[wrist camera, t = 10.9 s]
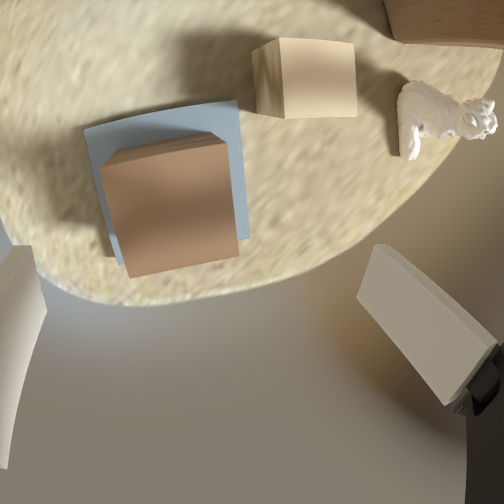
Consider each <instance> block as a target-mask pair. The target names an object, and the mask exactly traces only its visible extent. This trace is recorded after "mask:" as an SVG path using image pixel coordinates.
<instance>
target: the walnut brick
mask: <svg viewBox="0 0 504 504" xmlns="http://www.w3.org/2000/svg"><path fill="white" fill-rule="evenodd" d="M99 170H100V175H101V179H102V183H103V188H104V192H105V196H106V200H107V204H108V208H109V212H110V215H111V219H112V223H113V226H114V230H115V233H116V237H117V240H118V244H119V247H120V250H121V253H122V257H123V260H124V263H125V266H126V269H127V272H128V275H129V278H135V277H140V276H145V275H149V274H154V273H159V272H164V271H169V270H174V269H178V268H183V267H188V266H193V265H198V264H203V263H207V262H212V261H217V260H222V259H227V258H231V257H236V256H239V249H238V240H237V231H236V222H235V213H234V204H233V195H232V186H231V176H230V167H229V157H228V147H227V143H226V142H225V141H223V140H222V139H220V138H219V137H217V136H216V135H215V134H213V133H212V132H208V133H202V134H195V135H189V136H183V137H178V138H172V139H167V140H162V141H157V142H152V143H147V144H142V145H138V146H133V147H129V148H125V149H120V150H116V151H115V152H114V153H113V154H112V155H111V156H110V158H109V159H108V160H107V161H106V162H105V163H104V164H103V165H102V166H101V167H100V168H99Z"/></svg>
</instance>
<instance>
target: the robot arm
mask: <svg viewBox="0 0 504 504" xmlns="http://www.w3.org/2000/svg"><path fill="white" fill-rule="evenodd" d="M356 298H357V299H358V301H359V302H360V303H361V304H362V305H363V306H364V307H365V309H366V310H367V311H368V312H369V313H370V314H371V316H372V317H373V318H374V319H375V320H376V322H377V323H378V324H379V325H380V326H381V327H382V329H383V330H384V331H385V332H386V333H387V334H388V336H389V337H390V338H391V339H392V341H393V342H394V343H395V344H396V345H397V346H398V348H399V349H400V350H401V352H402V353H403V354H404V355H405V356H406V358H407V359H408V360H409V361H410V363H411V364H412V365H413V366H414V368H415V369H416V370H417V371H418V372H419V374H420V375H421V376H422V378H423V379H424V380H425V381H426V383H427V384H428V385H429V387H430V388H431V389H432V390H433V392H434V393H435V394H436V395H437V397H438V398H439V399H440V401H441V402H442V403H443V405H446V404H448V403H449V402H451V401H453V400H455V399H456V398H457V397H458V396H459V395H460V393H461V392H462V391H463V390H464V388H465V387H467V389H468V390H469V391H468V392H467V393H466V394H465V395H464V397H463V398H462V399H461V400H460V401H459V403H458V404H457V405H456V407H454V411H453V413H456V412H457V411H458V410H459V409H460V408H461V406H464V407H463V408H462V409H461V410H460V411H459V414H461V415H465V416H466V436H467V476H466V493H465V504H504V343H503V344H502V345H501V346H499V345H498V344H497V340H496V339H495V338H494V337H493V336H492V335H491V334H490V333H489V332H488V331H486V329H485V328H484V327H482V326H481V325H480V324H479V323H478V322H477V321H476V320H475V319H474V318H473V317H472V316H471V315H470V314H469V313H468V312H466V310H464V309H463V308H462V307H461V306H460V305H459V304H458V303H457V302H456V301H454V300H453V299H452V298H451V297H450V296H449V295H448V294H446V292H444V291H443V290H442V289H441V288H440V287H439V286H438V285H436V284H435V283H434V282H433V281H432V280H431V279H429V278H428V277H427V276H426V275H425V274H424V273H422V272H421V271H420V270H419V269H418V268H416V267H415V266H414V265H413V264H412V263H410V262H409V261H408V260H407V259H405V258H404V257H403V256H402V255H400V254H399V253H398V252H397V251H395V250H394V249H393V248H392V247H390V246H389V245H388V244H375V245H374V248H373V251H372V254H371V257H370V260H369V263H368V266H367V269H366V272H365V275H364V278H363V281H362V283H361V286H360V289H359V292H358V295H357V297H356ZM46 312H47V308H46V304H45V301H44V297H43V294H42V290H41V286H40V283H39V278H38V274H37V270H36V266H35V261H34V257H33V252H32V247H31V245H24V246H13V248H12V249H11V250H10V251H9V253H8V254H7V255H6V257H5V258H4V259H3V261H2V262H1V263H0V468H3V469H7V466H8V458H9V450H10V444H11V437H12V431H13V426H14V421H15V416H16V411H17V407H18V402H19V398H20V394H21V390H22V386H23V382H24V379H25V375H26V371H27V368H28V365H29V361H30V358H31V355H32V352H33V349H34V346H35V343H36V340H37V337H38V334H39V331H40V328H41V326H42V323H43V320H44V318H45V315H46Z"/></svg>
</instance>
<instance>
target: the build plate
mask: <svg viewBox="0 0 504 504" xmlns="http://www.w3.org/2000/svg"><path fill="white" fill-rule="evenodd" d="M208 132H212V133H213V134H215V135H216V136H217V137H219V138H220V139H222V140H223V141H225V142H226V143H227V147H228V157H229V167H230V176H231V186H232V195H233V204H234V213H235V222H236V231H237V240H243V239H248V238H250V230H249V219H248V208H247V197H246V187H245V176H244V165H243V154H242V144H241V133H240V122H239V111H238V101H237V100H228V101H220V102H212V103H204V104H197V105H190V106H184V107H178V108H172V109H167V110H161V111H156V112H151V113H146V114H142V115H137V116H133V117H128V118H124V119H120V120H116V121H112V122H108V123H105V124H101V125H97V126H94V127H90V128H87V129H84V136H85V141H86V146H87V151H88V156H89V161H90V166H91V170H92V174H93V179H94V183H95V187H96V191H97V195H98V199H99V203H100V207H101V210H102V214H103V217H104V221H105V224H106V228H107V231H108V235H109V238H110V241H111V244H112V247H113V251H114V254H115V257H116V260H117V263H118V265H123V264H125V263H124V260H123V257H122V253H121V250H120V247H119V244H118V240H117V237H116V233H115V230H114V226H113V223H112V219H111V215H110V212H109V208H108V204H107V200H106V196H105V192H104V188H103V183H102V179H101V175H100V170H99V168H100V167H101V166H102V165H103V164H104V163H105V162H106V161H107V160H108V159H109V158H110V156H111V155H112V154H113V153H114V152H115V151H116V150H120V149H125V148H129V147H133V146H138V145H142V144H147V143H152V142H157V141H162V140H167V139H172V138H178V137H183V136H189V135H195V134H202V133H208Z"/></svg>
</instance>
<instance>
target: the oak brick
mask: <svg viewBox="0 0 504 504" xmlns="http://www.w3.org/2000/svg"><path fill="white" fill-rule="evenodd" d="M251 52H252V63H253V75H254V87H255V100H256V112H257V114H261V115H267V116H273V117H278V118H283V119H290V118H310V117H357V92H356V69H355V54H354V44H352V43H345V42H336V41H327V40H317V39H303V38H280V37H279V38H277V39H275V40H273V41H271V42H269V43H267V44H265V45H263V46H261V47H259V48H257V49H255V50H253V51H251Z"/></svg>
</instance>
